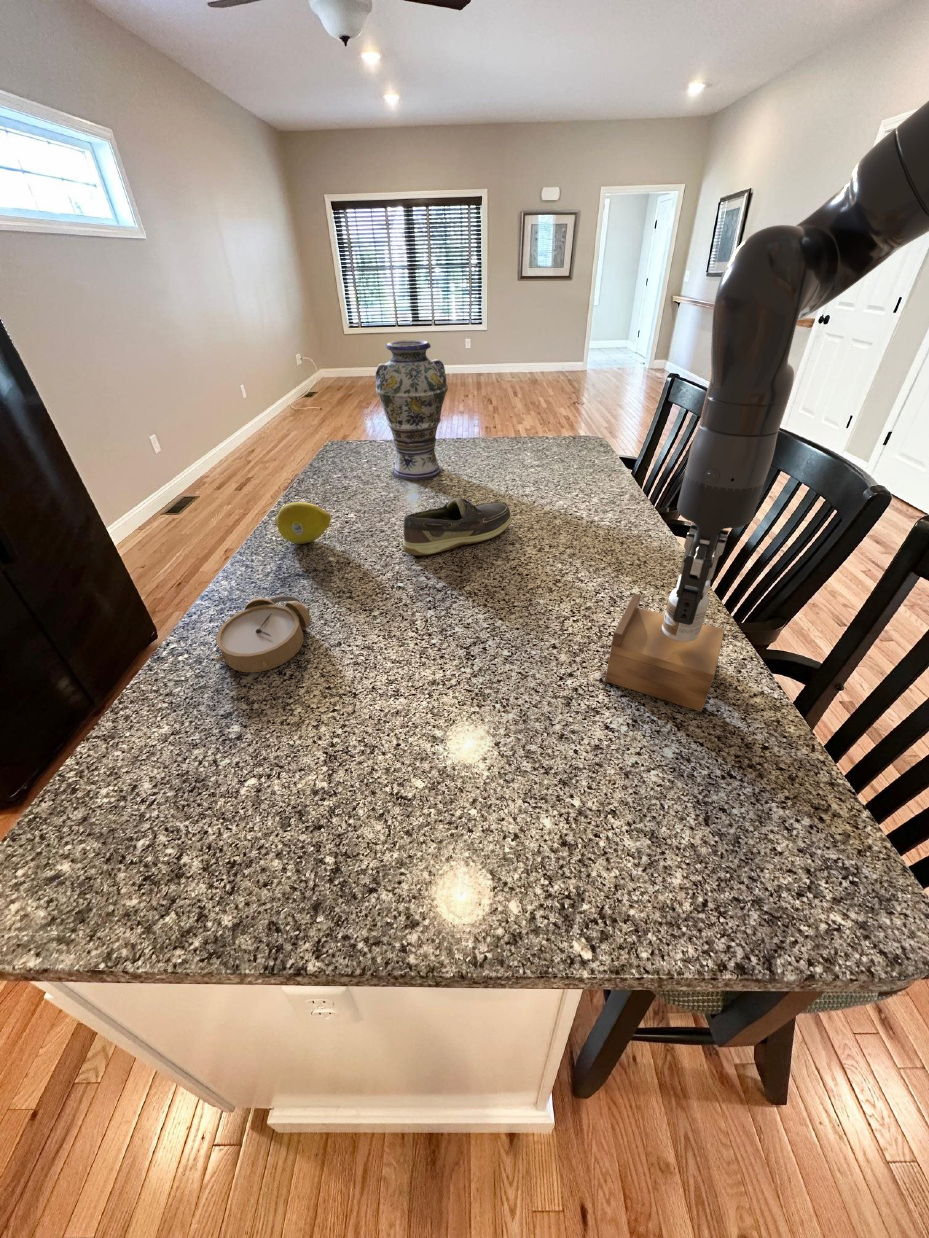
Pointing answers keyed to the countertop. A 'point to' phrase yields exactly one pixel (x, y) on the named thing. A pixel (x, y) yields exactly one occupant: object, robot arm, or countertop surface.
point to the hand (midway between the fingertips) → (686, 610)
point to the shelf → (662, 658)
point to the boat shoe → (453, 526)
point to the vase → (412, 406)
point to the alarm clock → (263, 634)
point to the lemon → (302, 522)
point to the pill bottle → (679, 629)
